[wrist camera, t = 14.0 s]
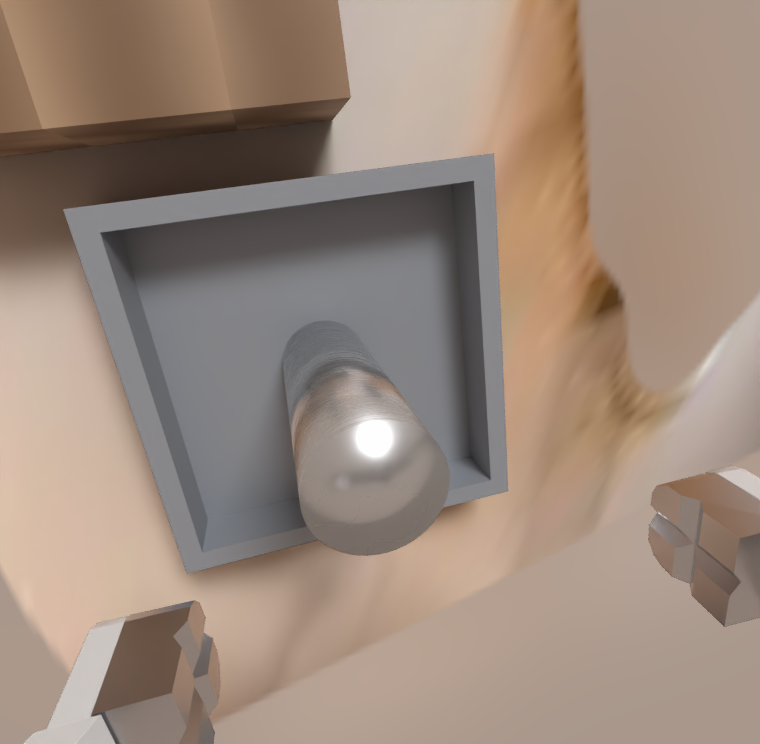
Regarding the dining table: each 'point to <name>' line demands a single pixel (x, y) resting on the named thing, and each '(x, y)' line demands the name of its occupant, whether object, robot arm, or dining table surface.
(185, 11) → the block
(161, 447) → the tray
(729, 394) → the dining table surface
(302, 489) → the lock pin
